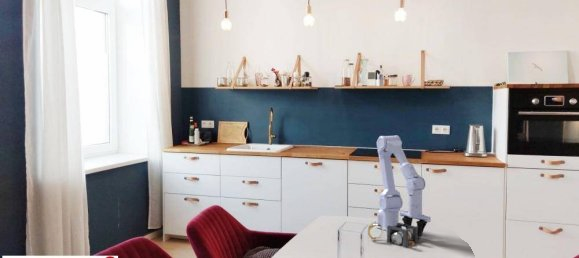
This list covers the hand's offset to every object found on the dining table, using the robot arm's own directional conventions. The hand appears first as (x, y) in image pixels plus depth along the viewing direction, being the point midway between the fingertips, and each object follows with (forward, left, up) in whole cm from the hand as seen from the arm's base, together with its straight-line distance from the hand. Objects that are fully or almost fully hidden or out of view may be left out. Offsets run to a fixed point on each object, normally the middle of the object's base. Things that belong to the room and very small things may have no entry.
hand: (414, 234), depth 210 cm
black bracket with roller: (0, -9, -2) cm, 9 cm away
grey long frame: (0, -5, -2) cm, 6 cm away
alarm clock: (-10, -15, -2) cm, 18 cm away
